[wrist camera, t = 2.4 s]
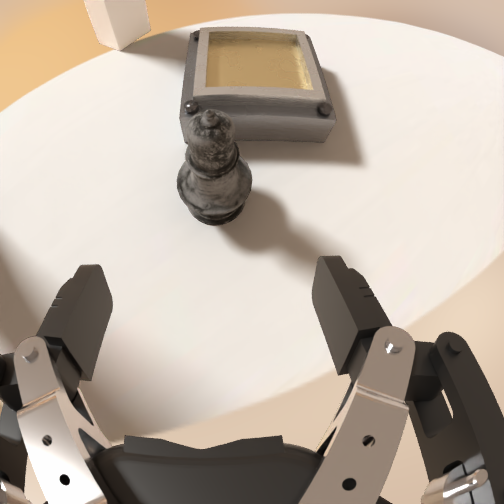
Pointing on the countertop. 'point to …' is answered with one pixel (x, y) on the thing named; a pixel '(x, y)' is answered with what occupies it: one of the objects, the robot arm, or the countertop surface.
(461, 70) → the countertop surface
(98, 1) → the milk
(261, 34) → the grey square box
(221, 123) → the grey stone figure
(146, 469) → the robot arm
